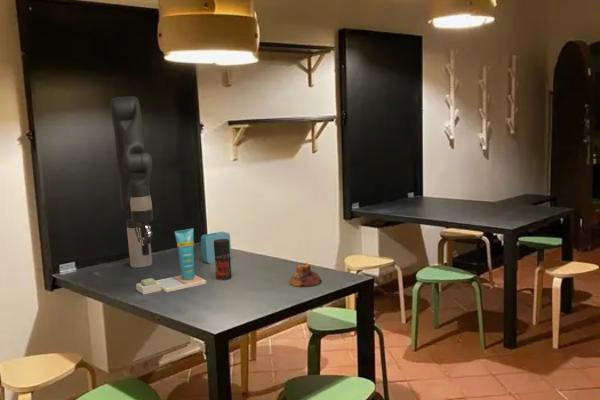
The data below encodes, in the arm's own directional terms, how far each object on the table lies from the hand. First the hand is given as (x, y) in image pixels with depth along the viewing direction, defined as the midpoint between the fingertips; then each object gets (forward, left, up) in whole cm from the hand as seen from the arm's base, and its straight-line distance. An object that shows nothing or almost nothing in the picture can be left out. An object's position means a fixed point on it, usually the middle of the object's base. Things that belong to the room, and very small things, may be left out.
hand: (145, 254), depth 233 cm
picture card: (0, +12, -14) cm, 18 cm away
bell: (+32, +48, -14) cm, 60 cm away
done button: (0, 0, -12) cm, 12 cm away
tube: (0, +16, -12) cm, 20 cm away
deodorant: (+5, +29, -14) cm, 32 cm away
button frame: (0, 0, -14) cm, 14 cm away
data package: (-23, +40, -14) cm, 48 cm away
